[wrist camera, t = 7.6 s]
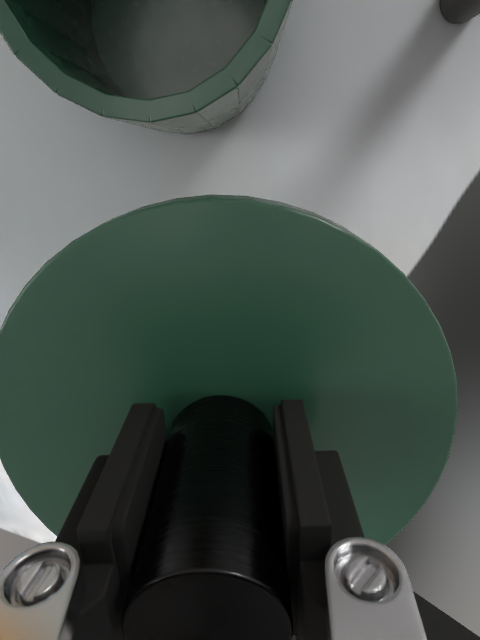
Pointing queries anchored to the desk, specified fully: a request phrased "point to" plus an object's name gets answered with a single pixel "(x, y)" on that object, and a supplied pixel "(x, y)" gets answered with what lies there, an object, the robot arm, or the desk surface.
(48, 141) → the desk surface
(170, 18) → the green hollow cylinder
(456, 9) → the cylinder
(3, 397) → the lid
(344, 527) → the robot arm
